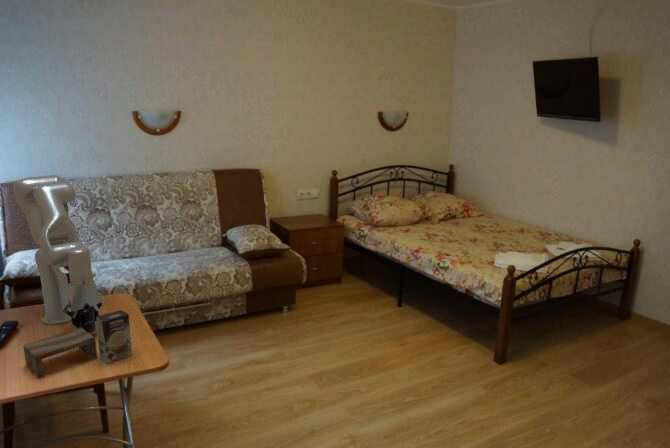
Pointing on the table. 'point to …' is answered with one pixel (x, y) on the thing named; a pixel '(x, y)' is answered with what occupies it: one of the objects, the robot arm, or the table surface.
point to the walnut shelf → (58, 348)
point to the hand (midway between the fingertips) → (85, 322)
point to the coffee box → (114, 336)
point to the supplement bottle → (86, 318)
